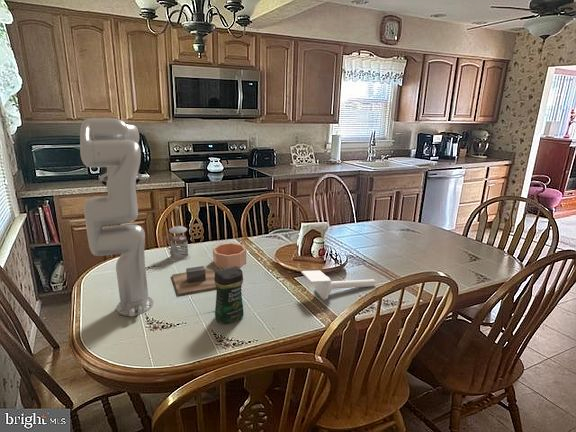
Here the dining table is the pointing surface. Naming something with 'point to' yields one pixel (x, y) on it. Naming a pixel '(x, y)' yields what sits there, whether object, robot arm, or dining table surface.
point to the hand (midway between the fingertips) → (122, 194)
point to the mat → (186, 294)
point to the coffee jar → (228, 295)
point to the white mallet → (332, 283)
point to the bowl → (229, 255)
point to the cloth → (194, 280)
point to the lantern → (175, 253)
